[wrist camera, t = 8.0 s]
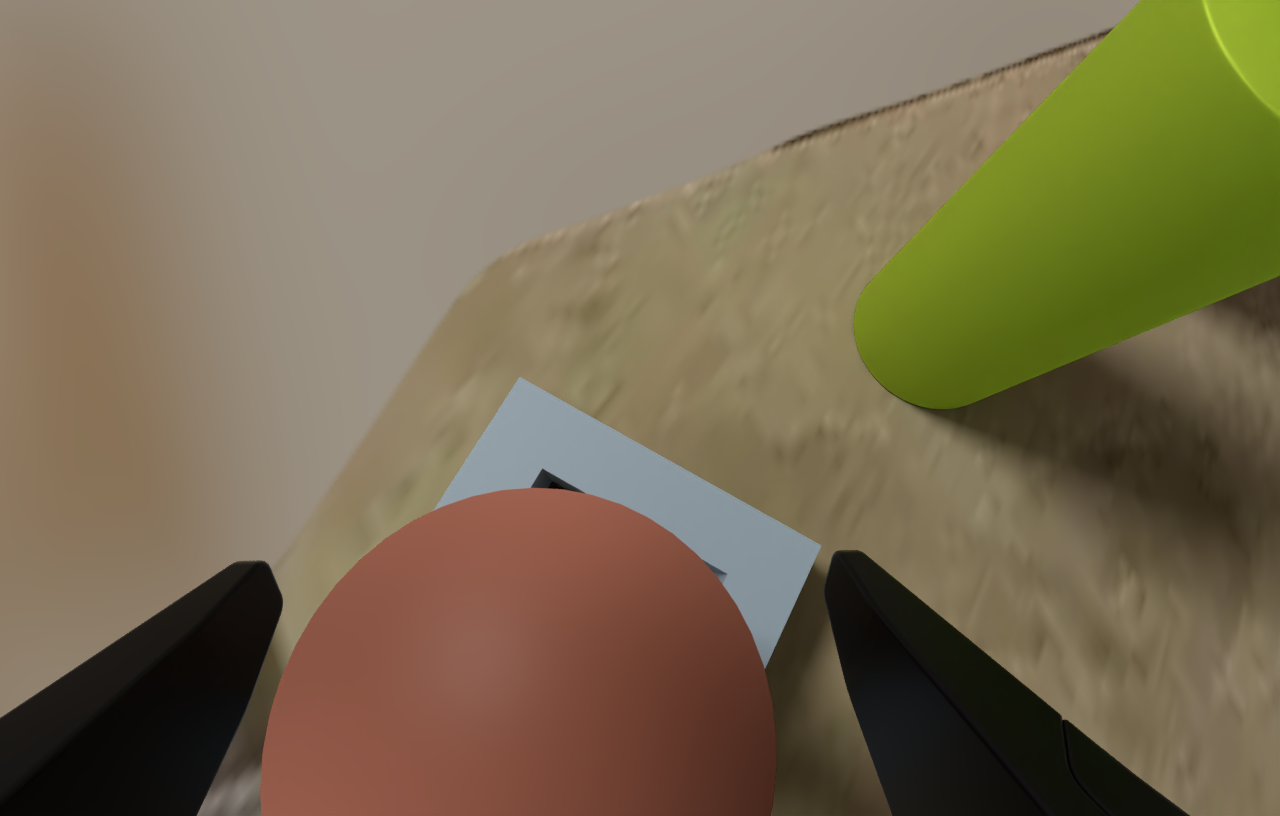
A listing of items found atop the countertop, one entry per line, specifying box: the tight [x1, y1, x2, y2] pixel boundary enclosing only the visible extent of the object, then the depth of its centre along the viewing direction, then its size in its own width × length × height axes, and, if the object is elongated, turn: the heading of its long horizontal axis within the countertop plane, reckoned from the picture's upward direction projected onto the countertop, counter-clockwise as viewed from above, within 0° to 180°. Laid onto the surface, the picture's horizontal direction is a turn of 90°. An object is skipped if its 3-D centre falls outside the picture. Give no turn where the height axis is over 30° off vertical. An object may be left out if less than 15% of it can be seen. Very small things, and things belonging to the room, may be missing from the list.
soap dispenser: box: [854, 0, 1280, 409], centre depth 12 cm, size 6×7×20 cm
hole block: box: [433, 377, 821, 669], centre depth 17 cm, size 10×10×3 cm
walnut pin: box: [260, 488, 776, 816], centre depth 12 cm, size 5×5×14 cm
